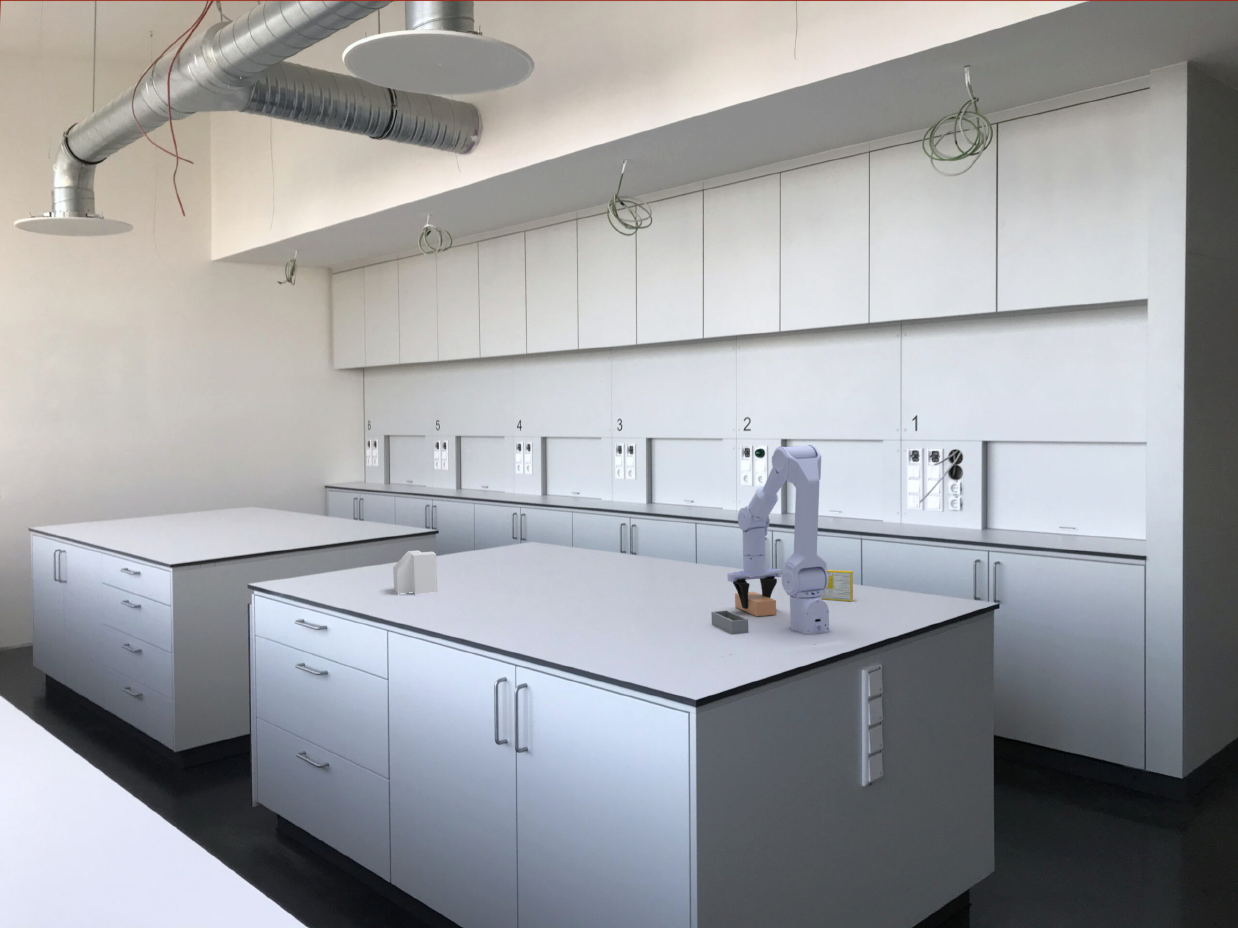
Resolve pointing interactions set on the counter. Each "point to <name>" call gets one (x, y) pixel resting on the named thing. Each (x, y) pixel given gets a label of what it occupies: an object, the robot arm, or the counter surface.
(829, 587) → the candy box
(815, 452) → the robot arm
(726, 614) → the storage box
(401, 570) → the corner bracket
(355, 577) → the counter surface
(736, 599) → the tan rectangular plank
